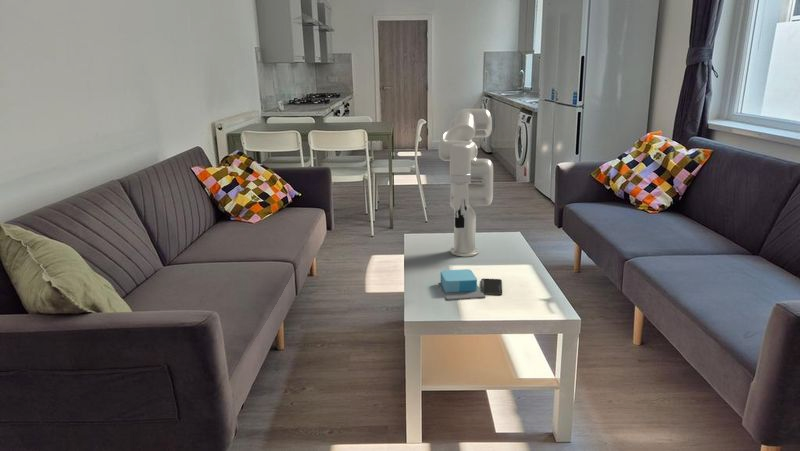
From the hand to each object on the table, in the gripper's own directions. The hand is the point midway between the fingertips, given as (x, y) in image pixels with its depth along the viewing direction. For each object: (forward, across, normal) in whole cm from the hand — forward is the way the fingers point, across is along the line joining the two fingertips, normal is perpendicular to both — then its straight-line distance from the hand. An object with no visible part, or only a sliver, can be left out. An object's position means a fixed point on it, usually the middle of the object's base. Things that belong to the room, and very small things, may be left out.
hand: (459, 227), depth 202 cm
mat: (+23, +6, -1) cm, 24 cm away
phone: (+23, +5, +11) cm, 26 cm away
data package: (+20, -3, -1) cm, 20 cm away
